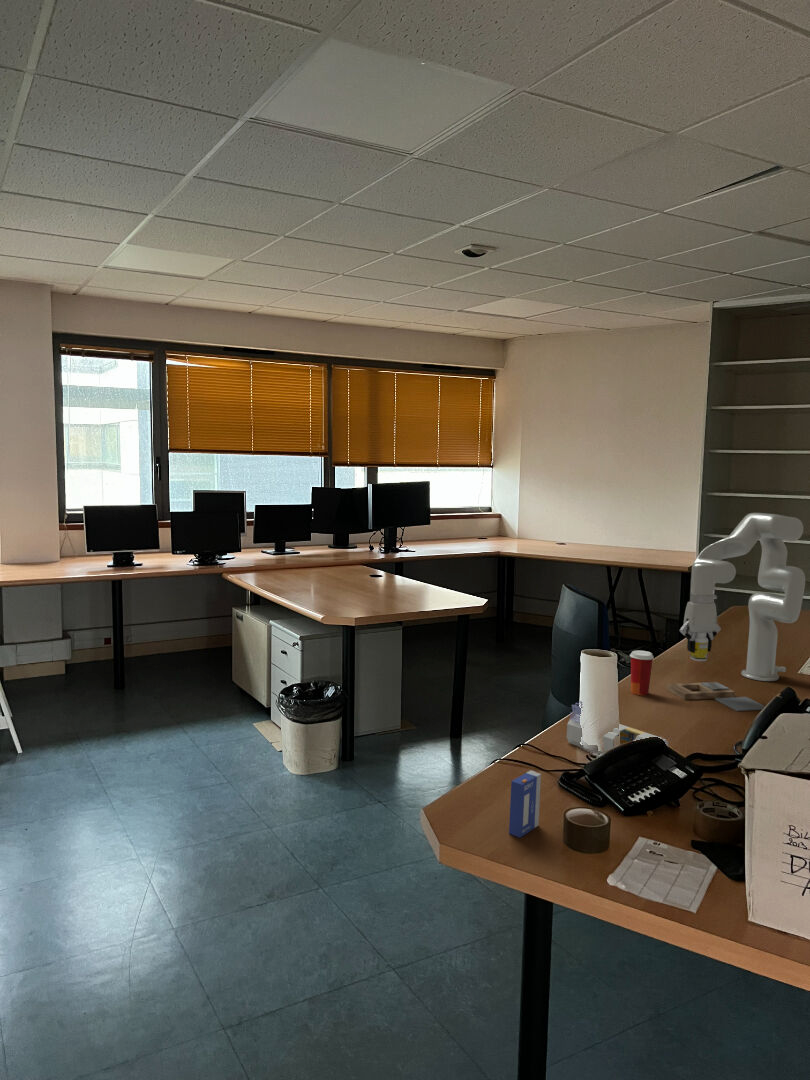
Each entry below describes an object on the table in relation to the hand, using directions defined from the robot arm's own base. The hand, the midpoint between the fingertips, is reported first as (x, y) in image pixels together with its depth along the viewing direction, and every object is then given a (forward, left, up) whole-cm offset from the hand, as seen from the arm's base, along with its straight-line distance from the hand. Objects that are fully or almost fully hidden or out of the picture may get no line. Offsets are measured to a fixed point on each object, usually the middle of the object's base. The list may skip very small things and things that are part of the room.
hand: (699, 650), depth 265 cm
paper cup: (+20, -3, -15) cm, 25 cm away
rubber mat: (-8, +13, -15) cm, 21 cm away
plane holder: (-1, 0, -15) cm, 15 cm away
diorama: (+54, +45, -16) cm, 72 cm away
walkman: (+95, +82, -15) cm, 126 cm away
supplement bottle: (0, 0, -3) cm, 3 cm away
